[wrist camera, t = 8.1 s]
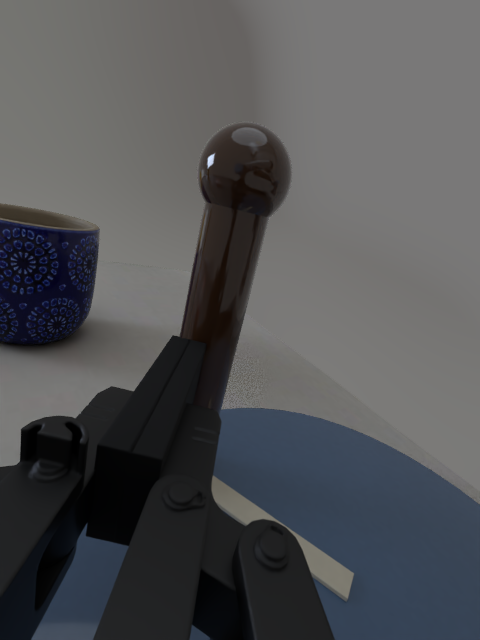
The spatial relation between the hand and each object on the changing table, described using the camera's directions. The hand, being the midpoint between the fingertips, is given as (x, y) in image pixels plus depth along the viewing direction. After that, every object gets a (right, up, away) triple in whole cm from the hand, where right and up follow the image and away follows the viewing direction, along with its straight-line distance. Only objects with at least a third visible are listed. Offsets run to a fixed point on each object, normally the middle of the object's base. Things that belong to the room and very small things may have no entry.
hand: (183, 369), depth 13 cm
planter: (-19, +1, +19) cm, 27 cm away
